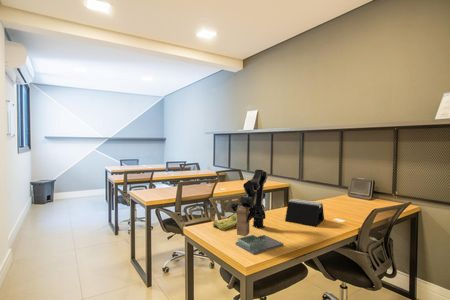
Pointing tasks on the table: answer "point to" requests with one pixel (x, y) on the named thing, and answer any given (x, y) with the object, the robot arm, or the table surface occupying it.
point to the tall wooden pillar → (242, 221)
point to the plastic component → (226, 222)
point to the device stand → (304, 212)
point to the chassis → (257, 243)
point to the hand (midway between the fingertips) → (242, 221)
